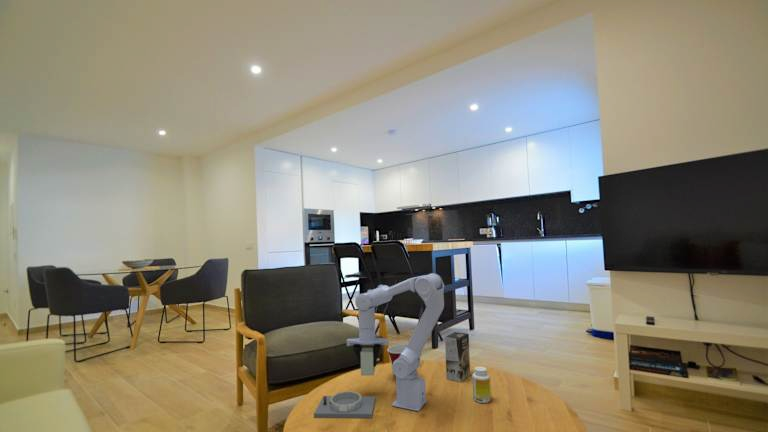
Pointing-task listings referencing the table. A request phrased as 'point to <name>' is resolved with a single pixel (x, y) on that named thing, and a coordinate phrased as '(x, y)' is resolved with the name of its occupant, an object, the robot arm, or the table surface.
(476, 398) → the supplement bottle
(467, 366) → the coffee box
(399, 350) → the plastic cup
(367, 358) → the pale green rectangular block
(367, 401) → the base board
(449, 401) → the table surface
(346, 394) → the collar
